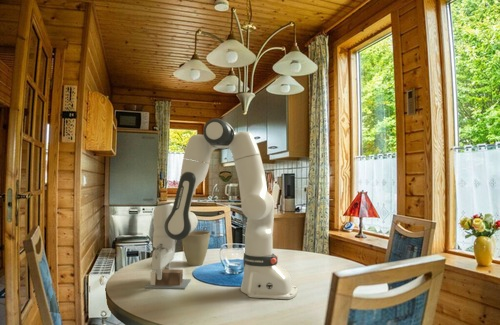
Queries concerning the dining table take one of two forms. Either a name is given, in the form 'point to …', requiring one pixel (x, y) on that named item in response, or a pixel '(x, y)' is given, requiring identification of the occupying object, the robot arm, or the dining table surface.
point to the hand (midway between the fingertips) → (163, 275)
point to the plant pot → (196, 247)
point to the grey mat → (181, 286)
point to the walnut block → (167, 277)
